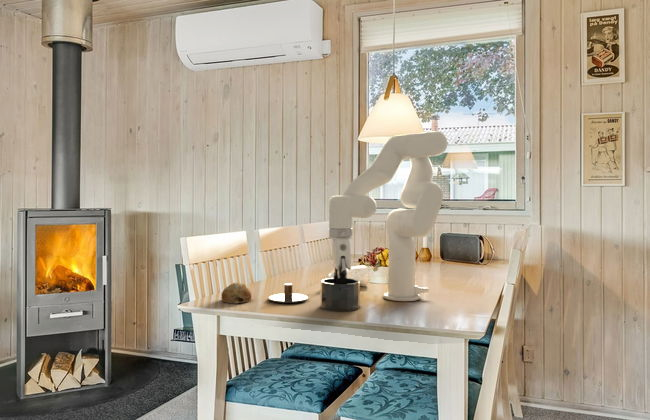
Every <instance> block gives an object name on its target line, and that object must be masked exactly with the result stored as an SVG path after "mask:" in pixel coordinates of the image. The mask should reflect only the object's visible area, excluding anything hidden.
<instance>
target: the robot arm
mask: <svg viewBox="0 0 650 420" xmlns="http://www.w3.org/2000/svg"><path fill="white" fill-rule="evenodd" d="M447 148H448V139H447V136H446V135H445V134H444V133H443V132H441V131H439V130H433V131H425V132H417V133H416V132H415V133H405V134H398V135H397V134H396V135H393V136H391V137H389V138H388V139H387V140H386V142H385V143H384V144H383V146H382V147H381V149H380V151H379V153H378V154H377V155H376V157H375V158H374V160H373V161H372V162H371V165H370V166H369V167H368V168H366V170H363V172H361V173H360V174H359V175H358V176H357V177H356V178H354V179H353V180H352V181H351V182H350V184H348V186H347V187H346V189H345V190H344V192H343V193H342V195H332V196H330V198H329V205H328V207H329V208H328V209H329V216H328V238H329V239H331V240H332V242H331V246H332V247H331V262H332V267H333V268H334V269H333V271H334V284H347V270H346V268H347V269H349V270H350V269H351V267H352V252H351V251H352V249H351V240H352V239H353V218H358V219H368V218H370V217H372V216H374V215H375V213H376V212H377V207H378V206H377V201H376V200H375V199H374V198H373V197H372V196H369V195H368V194H369V193H370V192H372V191H373V190H376V189H377V188H378V189H379V188H380V187H382V186H384V185H386V184H388V183H389V182H391V181H392V180H393V178H394V176H395V175H396V173H397V172H398V170H399V168H400V167H401V165H402V163H403V162H404V161H405V160H409V163H410V166H409V171H408V175H407V177H406V180H405V182H404V185H403V186H402V187H403V188H402V190H401V193H400V197H399V199H400V203H401V204H402V205H403V206H404V207H405V208H397V209H394V210H391V211H390V212H389V213H388V215H387V217H386V221H385V227H386V233H387V242H388V262H387V263H388V264H387V265H388V266H387V267H388V270H387V292H384V293H383V298H384V299H386V300H388V301H392V302H393V301H395V302H414V301H418V300H419V299H420V295H421V294H429V292H430V289H429V287H424V286H418V285H416V262H417V261H416V260H417V259H416V257H417V255H416V254H417V250H416V249H417V248H416V247H417V246H416V243H415V241H414V240H415V239H414V238H417V239H420V238H421V239H422V238H426V237H427V236H428V235H429V234H430V233H431V232H432V230H433V228H434V225H435V223H436V220H437V219H438V215H439V212H440V209H441V207H442V204H443V201H444V193H443V190H442V187H441V186H440V185H439V184H438V183H437V182H434V181H432V180H433V177H434V166H433V163H432V162H431V159H430V157H437V156H441V155H443V154H444V153H445V151H446V150H447Z"/></svg>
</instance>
